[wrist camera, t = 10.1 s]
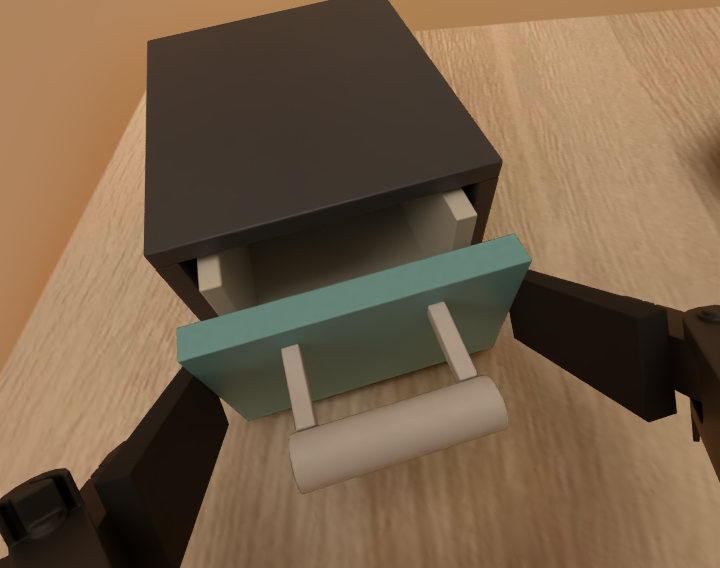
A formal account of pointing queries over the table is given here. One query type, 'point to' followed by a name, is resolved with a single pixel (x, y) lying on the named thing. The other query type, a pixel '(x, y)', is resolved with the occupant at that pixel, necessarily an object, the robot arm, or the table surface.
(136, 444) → the robot arm
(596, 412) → the table surface
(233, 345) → the drawer
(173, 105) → the dark drawer cabinet
